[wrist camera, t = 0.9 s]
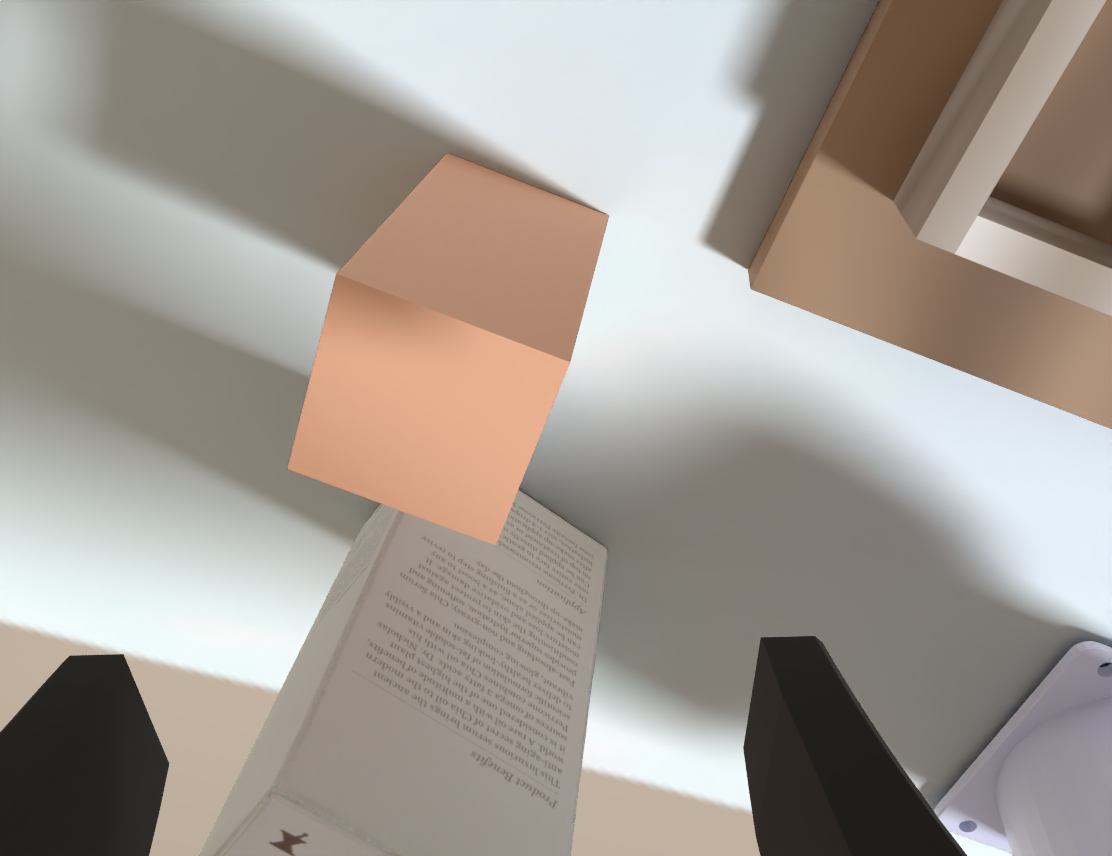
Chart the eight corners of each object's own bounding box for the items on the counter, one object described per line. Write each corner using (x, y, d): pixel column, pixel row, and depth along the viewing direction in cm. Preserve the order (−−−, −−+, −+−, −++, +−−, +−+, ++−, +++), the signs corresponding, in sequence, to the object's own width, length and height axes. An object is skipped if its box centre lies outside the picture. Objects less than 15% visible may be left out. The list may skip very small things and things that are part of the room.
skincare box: (358, 527, 28) (161, 904, 18) (437, 427, 26) (267, 785, 16) (529, 637, 29) (438, 1050, 19) (617, 549, 28) (568, 956, 17)
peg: (609, 215, 23) (570, 362, 16) (552, 359, 25) (495, 545, 18) (447, 152, 23) (336, 274, 16) (403, 302, 25) (287, 469, 18)
